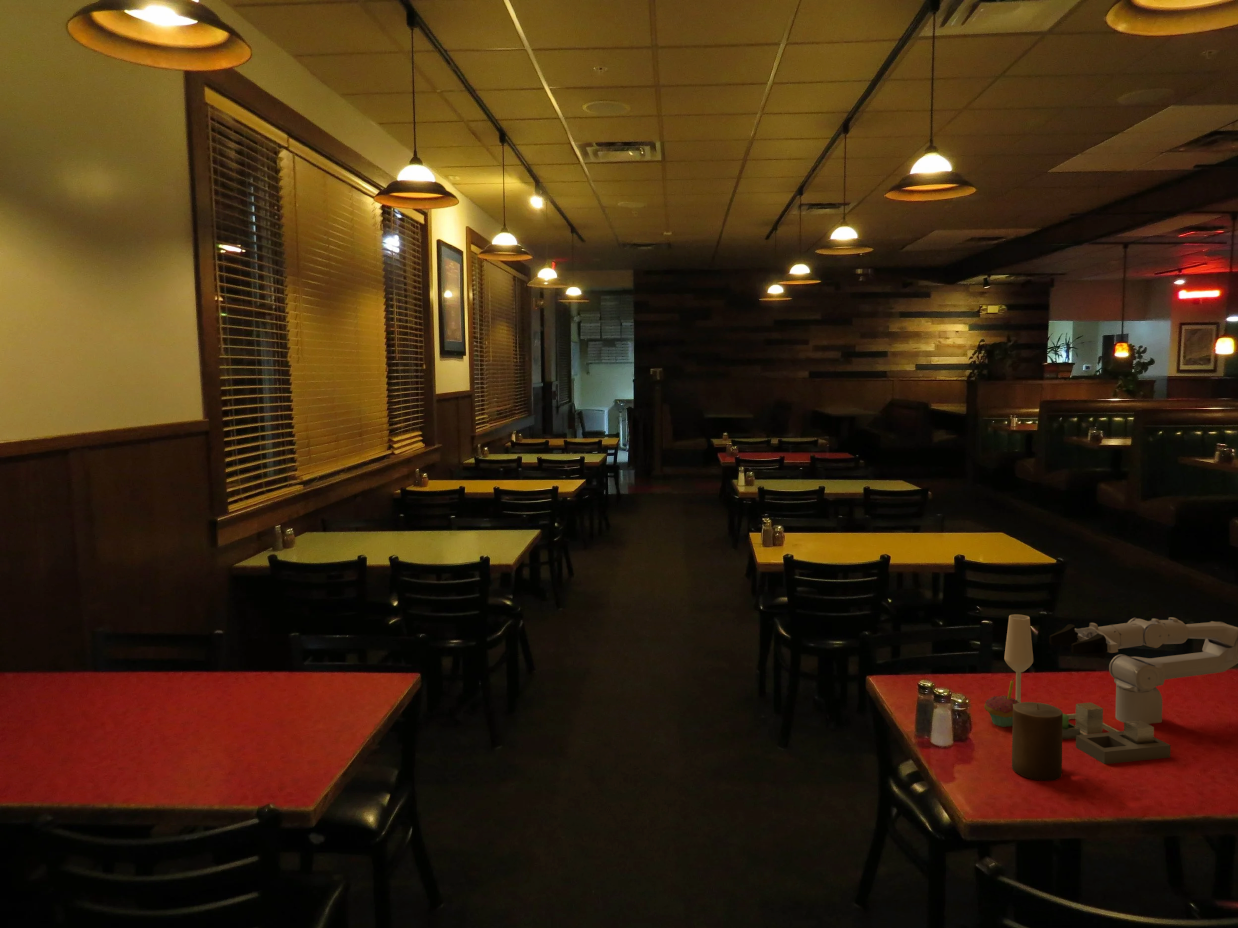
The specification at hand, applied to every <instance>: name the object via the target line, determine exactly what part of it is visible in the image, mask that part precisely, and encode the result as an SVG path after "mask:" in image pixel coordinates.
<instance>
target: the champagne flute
mask: <svg viewBox="0 0 1238 928" xmlns="http://www.w3.org/2000/svg"><path fill="white" fill-rule="evenodd" d="M1006 632H1007V633H1006V639H1005V649H1004V650H1005V651H1004V658H1003V659H1004V661H1005V663H1006V665H1007V666H1008V667H1009V668H1010V669H1011V670H1013V671H1014V672H1015V700H1017V701H1018V702H1019V703H1022V701H1021V700H1022V699H1021V698H1022V696H1021V695H1022V691H1021V690H1022V673H1024V672H1025V671H1026V670H1027V669H1029V668H1030V667H1031V666H1032V664H1033V663H1034V653H1033V642H1032V629H1031V618H1030V616H1029V615H1024V614H1010V615H1009V616H1008V622H1007V631H1006Z"/></svg>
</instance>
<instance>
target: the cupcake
mask: <svg viewBox="0 0 1238 928" xmlns="http://www.w3.org/2000/svg"><path fill="white" fill-rule="evenodd" d="M1013 687H1014V678H1012V679H1011V680H1010V683H1009V688H1008V693H1007V695H999V696H995V695H994V696H992V697H989V698H988V699H986V701H984V705H983V706H984V710H985V711H987V712H988V714H989V716H990V718H991V721H992V724H993V725H996V726H998V727H1002V728H1006V727H1013V704H1017V703H1019V702H1018V701H1017V700H1016V698H1014V697H1013V698H1012V693H1013Z"/></svg>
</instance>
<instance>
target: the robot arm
mask: <svg viewBox="0 0 1238 928" xmlns="http://www.w3.org/2000/svg"><path fill="white" fill-rule="evenodd" d="M1048 638H1049V639H1048V641H1049V642H1048V643H1049V645H1051V646H1067V647H1070V648H1071V649H1070V651H1071V653H1072V654H1074V655H1084V656H1092V657H1097V658H1100V659H1102V660H1103V659H1106V655H1107V653H1109V654H1113V653H1115V654H1116V653H1119V650H1120V649H1128V648H1134V647H1139V646H1146V647H1150V648H1154V649H1157V648H1159V647H1161V646H1162V645H1174V644H1175V645H1178V644H1179V645H1181V644H1184V643H1186V641H1187V640H1188V639H1192V640H1193V639H1195V640H1196V639H1197V640H1204V643H1203V646H1202V649H1201V650H1202V651H1201V652H1193V653H1191V652H1190V653H1184V654H1176V655H1167V656H1160V657H1159V656H1158V657H1152V658H1148V657H1141V656H1128V655H1126V654H1121V653H1120V654H1117V655H1115V656H1114V657H1113V658H1112V659H1111V661H1110V662H1109V665H1108V670H1109V674H1110V676H1111V677H1112V678H1113V680H1114V681H1113V682H1114V684H1116V685H1115V719H1116V720H1117V721H1119V722H1120V723H1123V724H1124V722H1127V721H1137V720H1141V721H1143V722H1145V723H1147V724H1149V725H1151V724H1159V723H1162V722H1163V696H1162V693H1161V692H1160V690H1159V689H1158V688H1157V687H1159V686H1163V685H1164V683H1165V681H1166V680H1172V679H1179V678H1187V677H1196V676H1204V675H1209V674H1210V675H1211V674H1217V673H1218V674H1219V673H1225V672H1226V671H1228V670H1229V669H1231V668H1232V667H1235V666H1236V665H1237V664H1238V626H1234V625H1231V624H1227V623H1225V622H1223V621H1213V620H1211V621H1209V622H1200V623H1199V622H1198V623H1187V624H1185V623H1184V621H1182V620H1179V619H1178V618H1176V617H1168V619H1159V618H1151V620H1145V619H1142V618H1137V617H1133V618H1131V619H1129V620H1128V621H1127V622H1124V623H1118V624H1109V625H1103V626H1098V624H1097V623H1095V622H1089V625H1088V627H1081V628H1076V626H1075V625H1074V624H1073V623H1072V624H1071V623H1069V624H1067V625H1066V626H1064V627H1063V628H1062V629H1061V630H1059V631H1057V632H1055V633H1053V634H1051V635H1049V636H1048Z"/></svg>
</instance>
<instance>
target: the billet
mask: <svg viewBox="0 0 1238 928" xmlns="http://www.w3.org/2000/svg"><path fill="white" fill-rule="evenodd" d="M1075 714H1076V719H1075V726H1077V727H1079V728H1080V731H1082V732H1083V733H1085V734H1097V733H1104V732H1103V730H1104V729H1103V723H1104V708H1103V707H1101V706H1099V705H1097V704H1095V703H1093V702H1082V703H1081V702H1080V703H1076V704H1075Z"/></svg>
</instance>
